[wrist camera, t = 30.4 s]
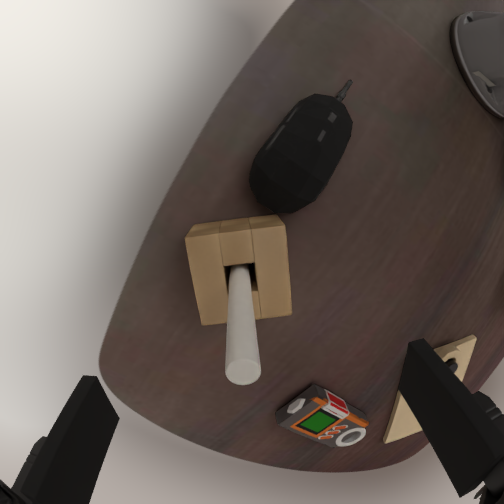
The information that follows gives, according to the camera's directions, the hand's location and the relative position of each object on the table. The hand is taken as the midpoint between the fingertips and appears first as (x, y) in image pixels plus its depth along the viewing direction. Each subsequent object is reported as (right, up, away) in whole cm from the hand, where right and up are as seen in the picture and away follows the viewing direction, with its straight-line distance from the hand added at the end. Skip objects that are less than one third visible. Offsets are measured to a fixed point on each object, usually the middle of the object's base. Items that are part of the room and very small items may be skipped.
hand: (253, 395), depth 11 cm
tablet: (+28, -16, +25) cm, 41 cm away
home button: (+27, -10, +21) cm, 35 cm away
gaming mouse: (+5, +16, +14) cm, 22 cm away
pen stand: (-1, +5, +17) cm, 18 cm away
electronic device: (+10, -17, +24) cm, 31 cm away
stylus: (-1, +5, +17) cm, 18 cm away
